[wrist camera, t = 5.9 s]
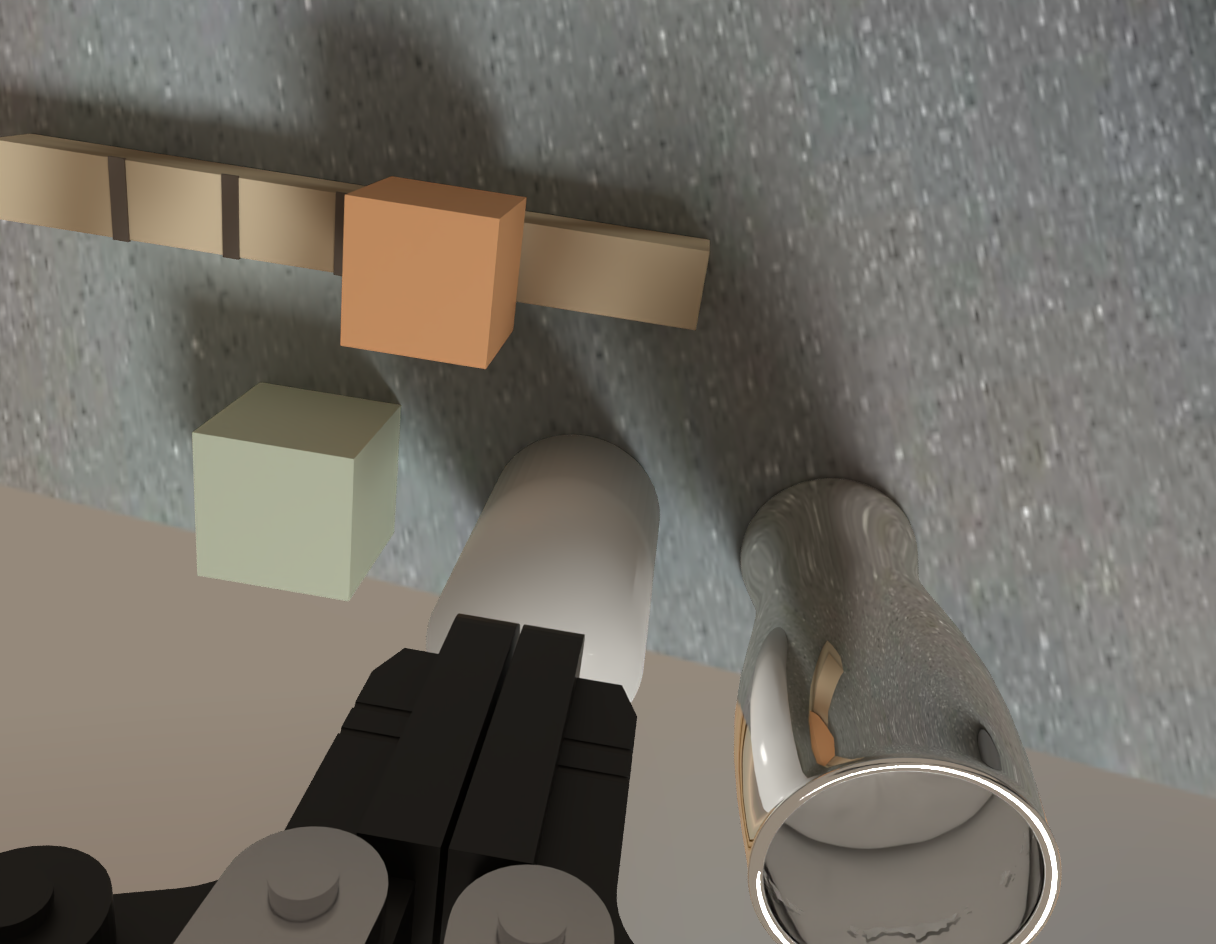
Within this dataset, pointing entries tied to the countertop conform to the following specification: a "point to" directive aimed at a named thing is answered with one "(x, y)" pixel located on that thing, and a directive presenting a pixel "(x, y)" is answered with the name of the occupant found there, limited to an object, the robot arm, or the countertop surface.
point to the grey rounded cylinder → (564, 554)
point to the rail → (327, 225)
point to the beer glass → (876, 743)
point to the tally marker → (430, 270)
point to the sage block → (295, 489)
